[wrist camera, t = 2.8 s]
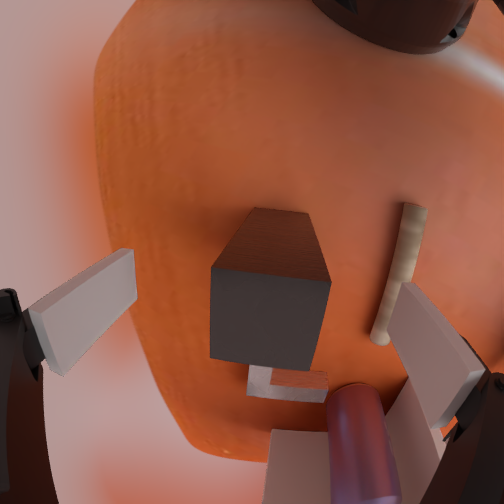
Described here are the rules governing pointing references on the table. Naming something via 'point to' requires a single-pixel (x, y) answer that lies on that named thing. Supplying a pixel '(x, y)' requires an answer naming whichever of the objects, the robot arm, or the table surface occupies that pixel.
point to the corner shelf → (318, 465)
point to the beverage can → (360, 448)
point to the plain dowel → (400, 267)
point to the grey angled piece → (271, 305)
